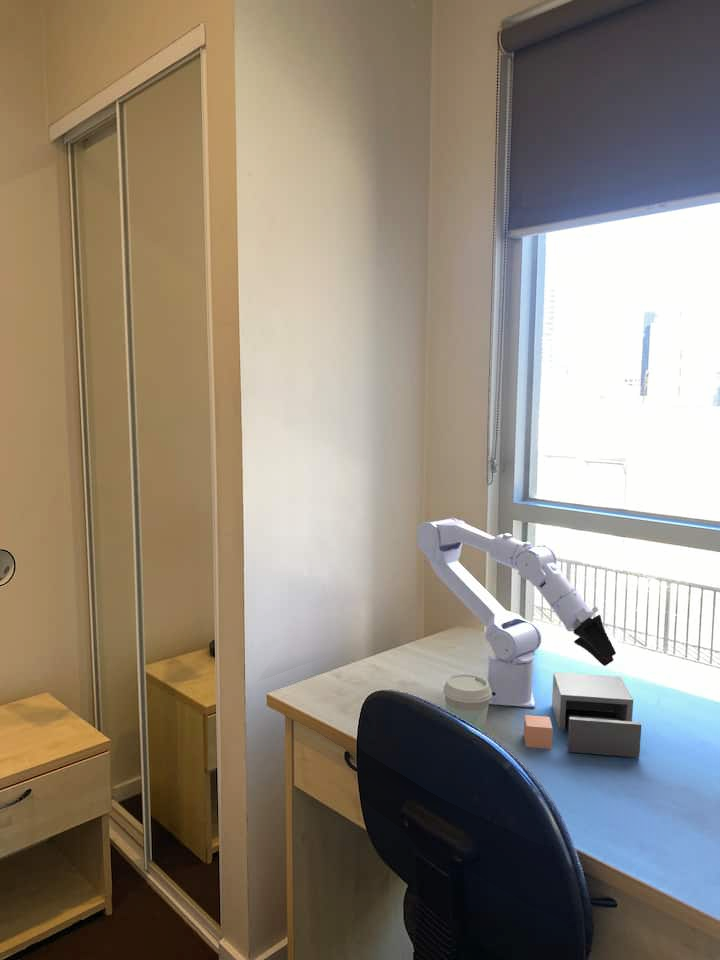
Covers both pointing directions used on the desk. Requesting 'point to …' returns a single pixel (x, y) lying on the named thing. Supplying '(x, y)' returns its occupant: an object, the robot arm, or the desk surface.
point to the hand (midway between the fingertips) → (610, 660)
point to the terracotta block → (538, 731)
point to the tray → (604, 736)
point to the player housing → (590, 695)
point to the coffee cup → (468, 698)
